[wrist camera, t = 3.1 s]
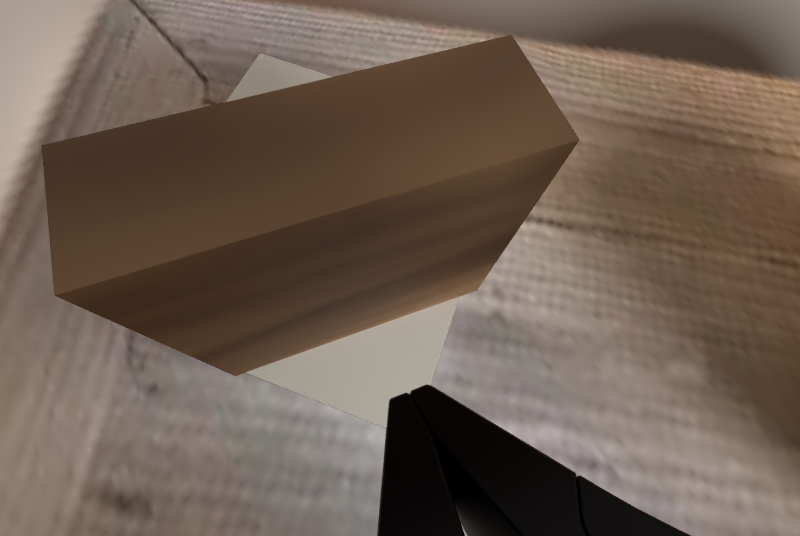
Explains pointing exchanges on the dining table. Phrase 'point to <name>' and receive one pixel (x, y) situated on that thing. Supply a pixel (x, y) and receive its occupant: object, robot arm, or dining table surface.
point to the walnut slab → (305, 204)
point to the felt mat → (364, 351)
